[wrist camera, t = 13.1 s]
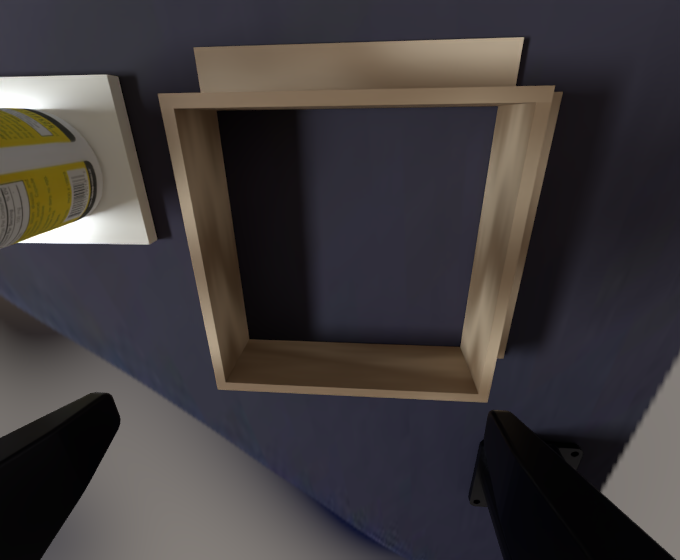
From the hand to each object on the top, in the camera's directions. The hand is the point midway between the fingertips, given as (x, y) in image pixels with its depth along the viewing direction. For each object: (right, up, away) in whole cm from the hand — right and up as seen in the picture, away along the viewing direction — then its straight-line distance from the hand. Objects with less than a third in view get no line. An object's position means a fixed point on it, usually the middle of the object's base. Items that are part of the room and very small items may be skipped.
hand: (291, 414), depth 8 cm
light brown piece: (+2, +5, +11) cm, 12 cm away
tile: (-13, +9, +10) cm, 19 cm away
